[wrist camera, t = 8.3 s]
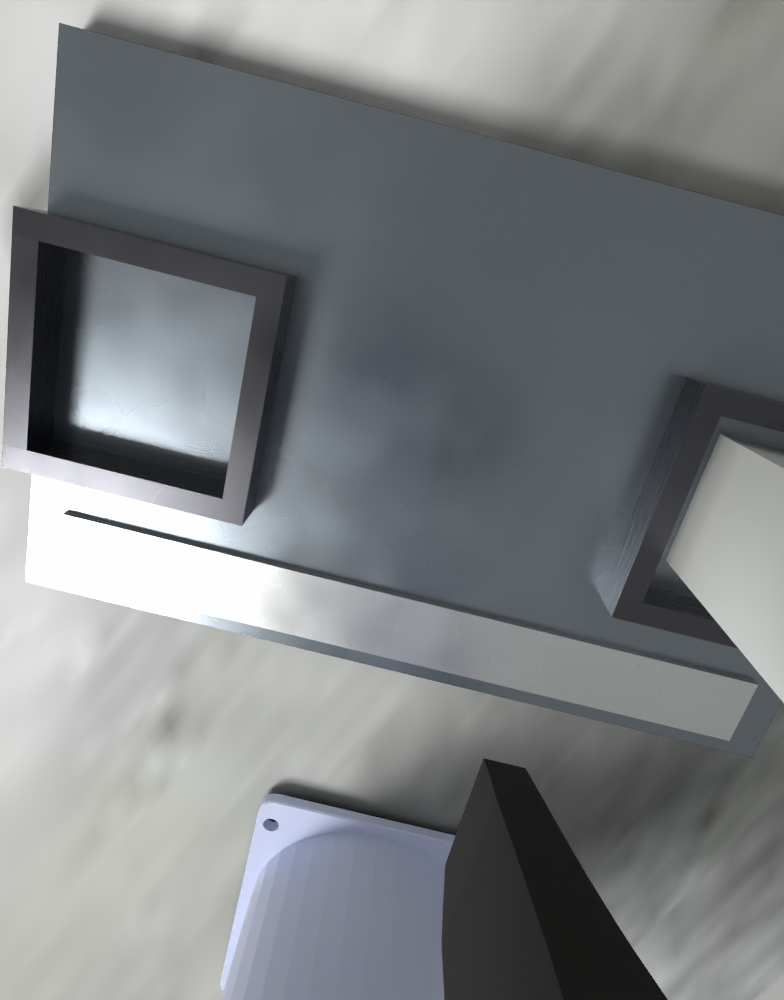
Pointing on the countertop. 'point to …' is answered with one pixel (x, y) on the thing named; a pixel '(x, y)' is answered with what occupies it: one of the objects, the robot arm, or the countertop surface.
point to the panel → (385, 388)
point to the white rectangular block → (739, 550)
